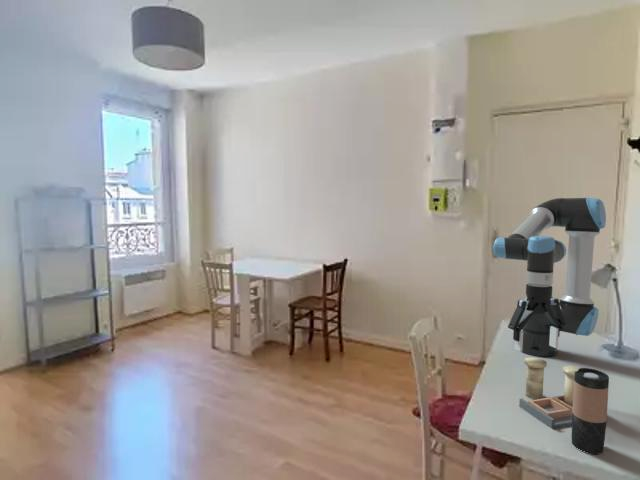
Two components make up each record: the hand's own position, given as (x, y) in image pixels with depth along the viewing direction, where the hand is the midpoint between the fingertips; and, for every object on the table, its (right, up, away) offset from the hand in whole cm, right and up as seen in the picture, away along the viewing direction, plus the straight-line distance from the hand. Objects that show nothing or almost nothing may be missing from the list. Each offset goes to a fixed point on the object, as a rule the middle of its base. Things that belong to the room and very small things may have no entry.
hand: (536, 348), depth 137 cm
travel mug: (0, -19, -26) cm, 32 cm away
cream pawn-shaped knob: (0, -16, +2) cm, 16 cm away
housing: (+3, -17, -9) cm, 20 cm away
